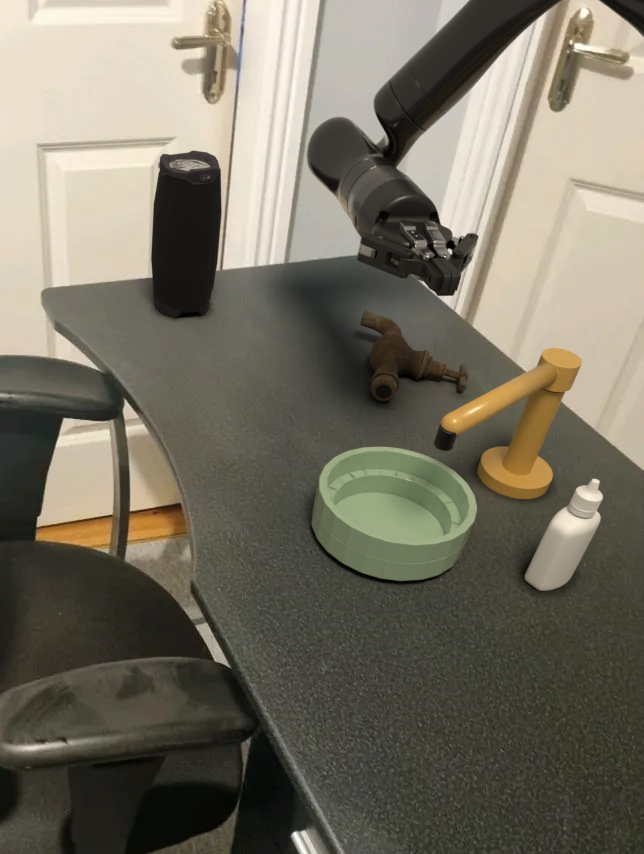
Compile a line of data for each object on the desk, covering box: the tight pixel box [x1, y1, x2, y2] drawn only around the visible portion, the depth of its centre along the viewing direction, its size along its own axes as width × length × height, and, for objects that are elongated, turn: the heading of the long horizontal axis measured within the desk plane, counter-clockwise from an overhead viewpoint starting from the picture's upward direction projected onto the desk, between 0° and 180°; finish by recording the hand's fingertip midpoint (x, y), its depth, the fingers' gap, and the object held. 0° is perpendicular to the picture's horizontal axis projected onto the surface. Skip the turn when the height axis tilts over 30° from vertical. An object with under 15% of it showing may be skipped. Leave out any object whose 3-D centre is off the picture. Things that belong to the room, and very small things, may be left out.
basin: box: [311, 446, 478, 582], centre depth 86 cm, size 16×16×6 cm
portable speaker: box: [150, 149, 223, 319], centre depth 114 cm, size 9×9×20 cm
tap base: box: [476, 388, 566, 500], centre depth 93 cm, size 8×8×12 cm
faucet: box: [359, 310, 469, 402], centre depth 110 cm, size 5×17×15 cm
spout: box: [433, 347, 583, 452], centre depth 83 cm, size 21×4×3 cm, turn 131°
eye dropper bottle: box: [523, 478, 604, 592], centre depth 81 cm, size 4×6×12 cm
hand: (449, 286), depth 80 cm, fingers closed
